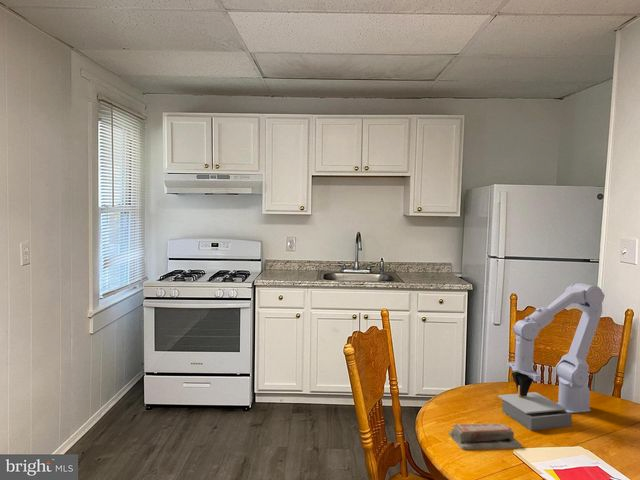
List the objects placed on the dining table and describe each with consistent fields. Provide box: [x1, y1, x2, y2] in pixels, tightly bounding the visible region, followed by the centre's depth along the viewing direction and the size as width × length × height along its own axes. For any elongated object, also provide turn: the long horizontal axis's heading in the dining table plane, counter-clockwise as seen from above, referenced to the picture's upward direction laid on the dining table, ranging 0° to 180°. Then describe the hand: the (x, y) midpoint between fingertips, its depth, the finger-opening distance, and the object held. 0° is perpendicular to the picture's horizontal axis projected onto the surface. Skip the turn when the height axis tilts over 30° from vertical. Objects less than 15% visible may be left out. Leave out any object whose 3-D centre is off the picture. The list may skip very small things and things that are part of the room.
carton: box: [501, 399, 573, 432], centre depth 155 cm, size 15×14×4 cm
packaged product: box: [448, 423, 522, 451], centre depth 139 cm, size 18×5×10 cm
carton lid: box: [497, 385, 566, 414], centre depth 158 cm, size 15×14×4 cm
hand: (522, 394), depth 162 cm, fingers closed, pressing on carton lid
